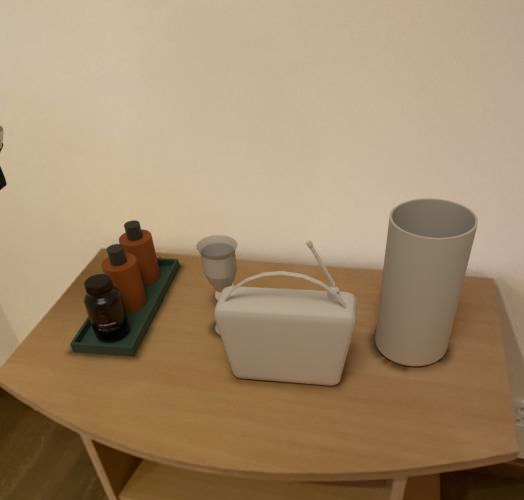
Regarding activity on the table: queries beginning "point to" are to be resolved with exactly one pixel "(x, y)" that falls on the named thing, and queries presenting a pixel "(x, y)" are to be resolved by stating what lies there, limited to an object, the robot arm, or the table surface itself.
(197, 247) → the chalice
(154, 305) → the tray
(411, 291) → the cylinder vase
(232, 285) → the lidless jar
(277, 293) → the radio
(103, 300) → the supplement bottle
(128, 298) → the amber bottle middle
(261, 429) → the table surface
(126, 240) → the amber bottle far
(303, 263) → the table surface
